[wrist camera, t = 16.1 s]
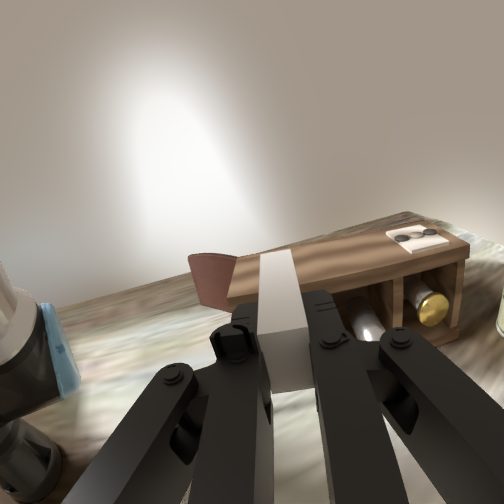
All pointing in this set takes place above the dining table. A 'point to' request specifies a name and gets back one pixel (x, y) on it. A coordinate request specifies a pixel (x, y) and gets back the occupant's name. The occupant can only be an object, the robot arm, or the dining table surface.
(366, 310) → the button
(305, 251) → the box
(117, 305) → the dining table surface
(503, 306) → the coffee can
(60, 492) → the dining table surface
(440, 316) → the button
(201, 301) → the letter holder
